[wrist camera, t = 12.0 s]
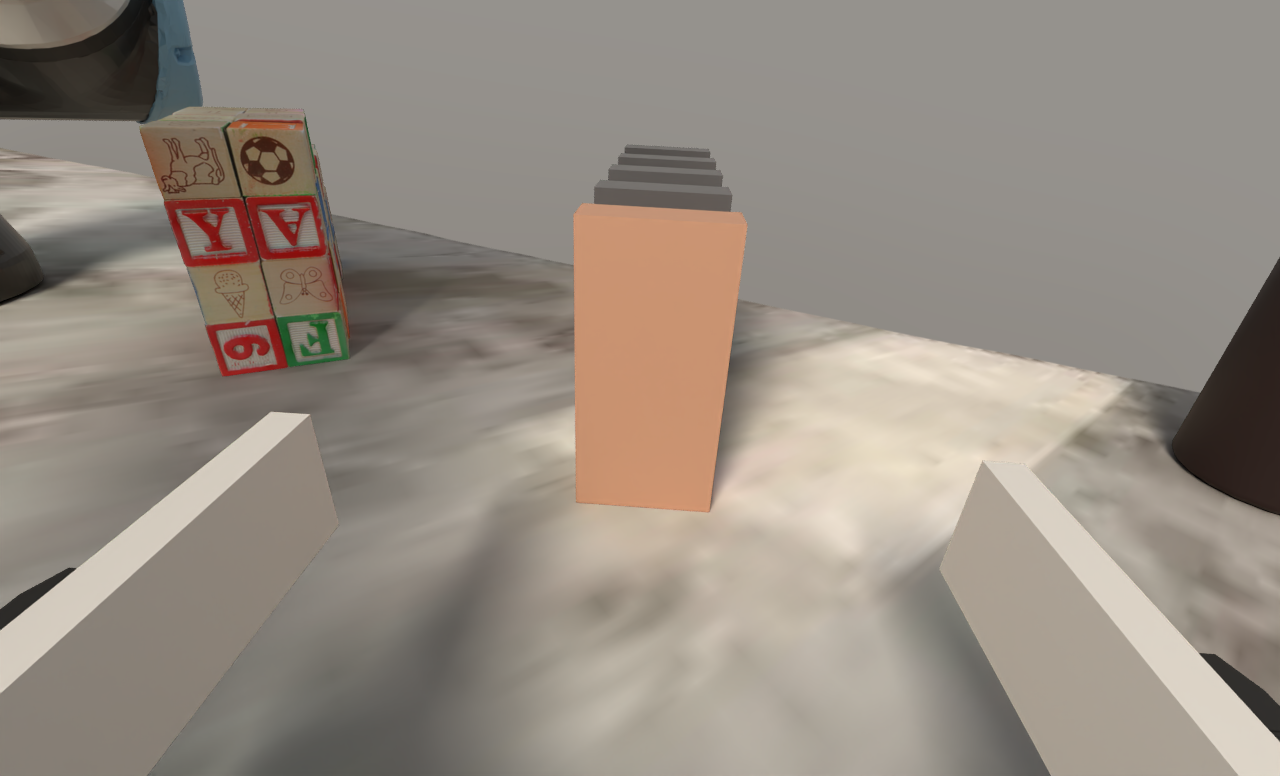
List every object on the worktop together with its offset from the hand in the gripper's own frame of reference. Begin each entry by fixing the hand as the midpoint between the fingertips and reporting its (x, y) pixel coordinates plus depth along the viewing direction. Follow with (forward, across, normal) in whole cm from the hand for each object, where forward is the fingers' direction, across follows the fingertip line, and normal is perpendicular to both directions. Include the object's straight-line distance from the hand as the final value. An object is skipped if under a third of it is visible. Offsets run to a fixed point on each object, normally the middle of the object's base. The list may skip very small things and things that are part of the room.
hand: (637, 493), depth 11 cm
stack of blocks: (+27, -25, -8) cm, 38 cm away
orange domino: (+9, 0, -8) cm, 12 cm away
